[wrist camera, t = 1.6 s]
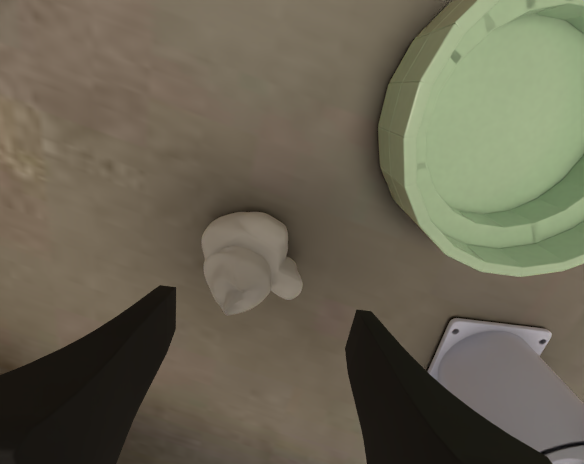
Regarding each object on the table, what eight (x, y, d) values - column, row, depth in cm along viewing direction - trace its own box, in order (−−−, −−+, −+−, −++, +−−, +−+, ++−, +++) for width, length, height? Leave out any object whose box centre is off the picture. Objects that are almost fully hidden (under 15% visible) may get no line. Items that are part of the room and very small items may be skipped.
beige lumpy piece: (233, 182, 20) (201, 237, 12) (321, 235, 21) (338, 311, 14) (194, 248, 21) (146, 329, 14) (277, 292, 23) (272, 386, 16)
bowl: (553, 249, 22) (624, 291, 17) (351, 220, 21) (369, 257, 16) (689, 1, 16) (847, -34, 12) (419, -55, 15) (476, -118, 11)
